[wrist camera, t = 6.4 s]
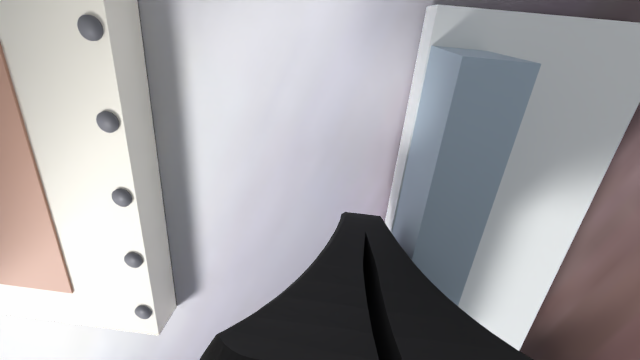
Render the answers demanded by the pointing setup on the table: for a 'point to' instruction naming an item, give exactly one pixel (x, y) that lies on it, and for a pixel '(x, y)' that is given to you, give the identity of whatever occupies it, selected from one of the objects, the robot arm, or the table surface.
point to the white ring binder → (80, 169)
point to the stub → (507, 151)
